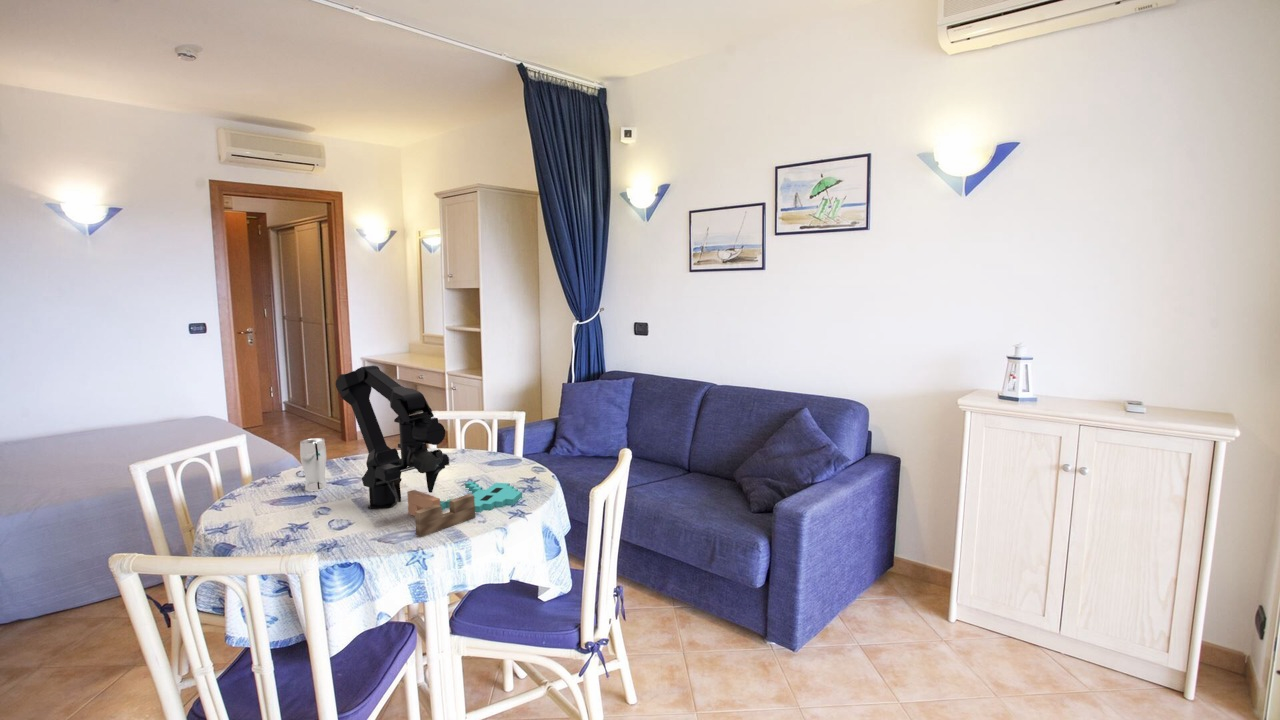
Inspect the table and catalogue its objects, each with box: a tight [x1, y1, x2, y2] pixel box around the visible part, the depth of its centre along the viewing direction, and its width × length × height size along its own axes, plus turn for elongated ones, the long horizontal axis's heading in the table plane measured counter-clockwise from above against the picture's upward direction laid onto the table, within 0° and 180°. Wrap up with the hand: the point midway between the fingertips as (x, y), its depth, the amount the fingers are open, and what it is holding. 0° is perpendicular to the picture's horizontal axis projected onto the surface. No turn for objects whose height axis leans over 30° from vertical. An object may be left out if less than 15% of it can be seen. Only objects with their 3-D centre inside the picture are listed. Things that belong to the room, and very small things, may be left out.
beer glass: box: [299, 437, 328, 493], centre depth 190 cm, size 7×7×15 cm
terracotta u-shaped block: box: [406, 489, 441, 517], centre depth 165 cm, size 12×2×6 cm, turn 51°
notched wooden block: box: [414, 493, 476, 538], centre depth 158 cm, size 16×2×6 cm, turn 141°
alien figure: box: [440, 480, 523, 513], centre depth 178 cm, size 20×2×20 cm
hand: (415, 497), depth 167 cm, fingers open, 9 cm apart
